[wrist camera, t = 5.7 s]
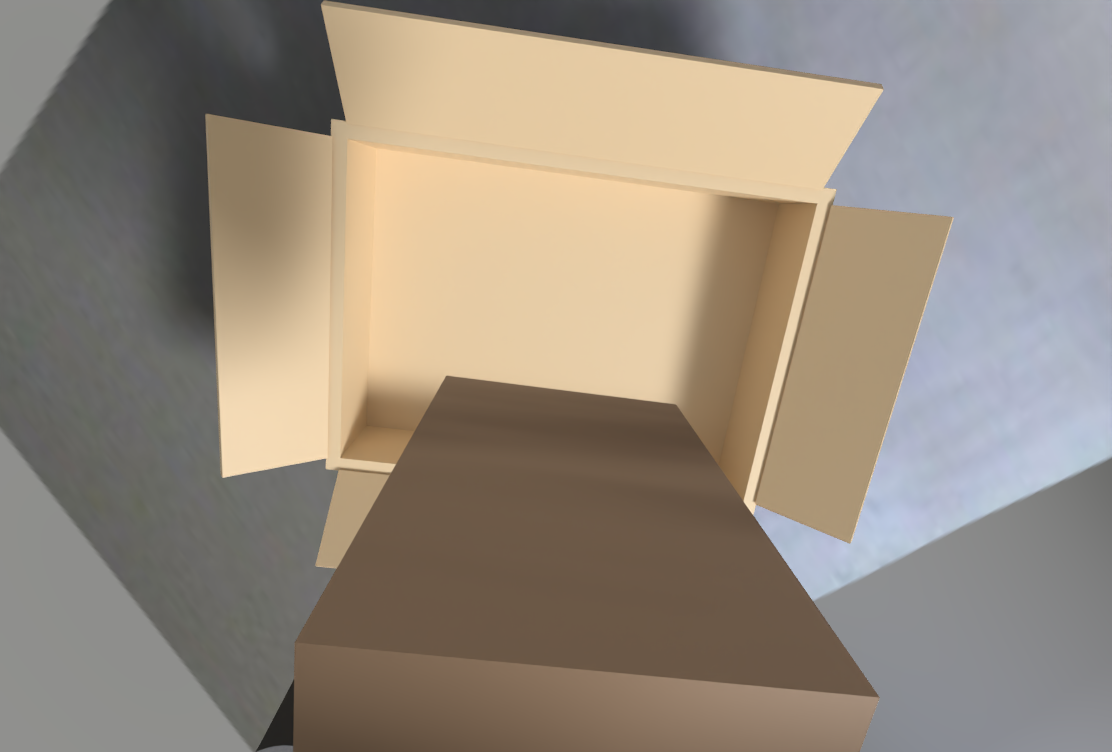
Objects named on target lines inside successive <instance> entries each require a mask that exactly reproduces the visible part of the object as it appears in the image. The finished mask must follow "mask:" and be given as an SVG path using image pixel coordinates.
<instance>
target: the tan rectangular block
mask: <svg viewBox="0 0 1112 752" xmlns="http://www.w3.org/2000/svg"><path fill="white" fill-rule="evenodd" d="M878 701H879V696H878V695H877V693H876V692H875V690H874V689H873V688H872V686H871V684H870V683H869V682H868V680H867V679H866V677H865V676H864V674H863V673H862V671H861V670H860V669H859V667H858V666H857V664H856V663H855V661H854V660H853V658H852V657H851V656H850V654H849V653H848V651H847V650H846V648H845V647H844V646H843V644H842V643H841V641H840V640H839V638H838V637H837V635H836V634H835V633H834V631H833V630H832V628H831V627H830V625H829V624H828V623H827V621H826V620H825V618H824V617H823V615H822V614H821V613H820V611H819V610H818V608H817V607H816V605H815V604H814V602H813V601H812V599H811V598H810V597H809V595H808V594H807V592H806V591H805V589H804V588H803V586H802V585H801V584H800V582H799V581H798V579H797V578H796V576H795V575H794V574H793V572H792V571H791V569H790V568H789V566H788V565H787V563H786V562H785V561H784V559H783V558H782V556H781V555H780V553H779V552H778V550H777V549H776V548H775V546H774V545H773V543H772V542H771V540H770V539H769V538H768V536H767V535H766V533H765V532H764V530H763V529H762V527H761V526H760V525H759V523H758V522H757V520H756V519H755V517H754V516H753V514H752V513H751V512H750V510H749V509H748V507H747V506H746V504H745V503H744V502H743V500H742V499H741V497H740V496H739V494H738V493H737V491H736V490H735V489H734V487H733V486H732V484H731V483H730V481H729V480H728V478H727V477H726V476H725V474H724V473H723V471H722V470H721V468H720V467H719V465H718V464H717V463H716V461H715V460H714V458H713V457H712V455H711V454H710V453H709V451H708V450H707V448H706V447H705V445H704V444H703V442H702V441H701V440H700V438H699V437H698V435H697V434H696V432H695V431H694V429H693V428H692V427H691V425H690V424H689V422H688V421H687V419H686V418H685V417H684V415H683V414H682V412H681V411H680V409H679V408H678V406H677V405H676V404H669V403H661V402H653V401H645V400H637V399H629V398H622V397H614V396H606V395H598V394H590V393H582V392H574V391H566V390H558V389H550V388H542V387H534V386H526V385H518V384H510V383H502V382H494V381H486V380H478V379H470V378H462V377H454V376H446V377H445V379H444V380H443V382H442V384H441V386H440V387H439V389H438V391H437V393H436V394H435V396H434V398H433V400H432V402H431V403H430V405H429V407H428V409H427V410H426V412H425V414H424V416H423V417H422V419H421V421H420V423H419V424H418V426H417V428H416V430H415V432H414V433H413V435H412V437H411V439H410V440H409V442H408V444H407V446H406V447H405V449H404V451H403V453H402V454H401V456H400V458H399V460H398V461H397V463H396V465H395V467H394V469H393V470H392V472H391V474H390V476H389V477H388V479H387V481H386V483H385V484H384V486H383V488H382V490H381V491H380V493H379V495H378V497H377V498H376V500H375V502H374V504H373V506H372V507H371V509H370V511H369V513H368V514H367V516H366V518H365V520H364V521H363V523H362V525H361V527H360V528H359V530H358V532H357V534H356V536H355V537H354V539H353V541H352V543H351V544H350V546H349V548H348V550H347V551H346V553H345V555H344V557H343V558H342V560H341V562H340V564H339V565H338V567H337V569H336V571H335V573H334V574H333V576H332V578H331V580H330V581H329V583H328V585H327V587H326V588H325V590H324V592H323V594H322V595H321V597H320V599H319V601H318V602H317V604H316V606H315V608H314V610H313V611H312V613H311V615H310V617H309V618H308V620H307V622H306V624H305V625H304V627H303V629H302V631H301V632H300V634H299V636H298V638H297V640H296V641H295V662H294V728H293V752H860V749H861V747H862V744H863V741H864V738H865V736H866V733H867V730H868V728H869V725H870V722H871V720H872V717H873V714H874V712H875V709H876V706H877V703H878Z"/></svg>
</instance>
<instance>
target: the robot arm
mask: <svg viewBox="0 0 1112 752" xmlns="http://www.w3.org/2000/svg"><path fill="white" fill-rule="evenodd" d="M293 728H294V681H293V682H292V684H291V686H290V688H289V690H288V692H287V694H286V696H285V698H284V700H283V702H282V703H281V705H280V707H279V709H278V711H277V713H276V715H275V717H274V719H273V721H272V723H271V724H270V726H269V728H268V730H267V732H266V734H265V736H264V738H263V740H262V742H261V744H260V745H259V747H258V749H257V750H256V752H293Z"/></svg>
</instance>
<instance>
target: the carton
mask: <svg viewBox="0 0 1112 752" xmlns="http://www.w3.org/2000/svg"><path fill="white" fill-rule="evenodd" d="M321 7H322V12H323V17H324V21H325V26H326V31H327V35H328V40H329V44H330V49H331V54H332V58H333V63H334V68H335V72H336V77H337V82H338V86H339V91H340V96H341V100H342V105H343V109H344V114H345V119H346V121H343V120H336V119H331V136H328V135H322V134H317V133H311V132H305V131H300V130H294V129H289V128H283V127H278V126H272V125H267V124H261V123H256V122H250V121H244V120H239V119H233V118H228V117H222V116H217V115H211V114H205V118H206V142H207V165H208V188H209V212H210V235H211V258H212V281H213V305H214V328H215V351H216V375H217V398H218V421H219V445H220V468H221V476H222V477H229V476H234V475H239V474H245V473H250V472H255V471H261V470H266V469H271V468H277V467H282V466H287V465H293V464H298V463H303V462H309V461H314V460H320V459H325V458H326V469H330V470H339V472H338V476H337V480H336V484H335V488H334V492H333V496H332V500H331V504H330V508H329V513H328V517H327V521H326V525H325V529H324V533H323V537H322V541H321V545H320V549H319V554H318V558H317V562H316V566H318V567H328V568H337V567H338V565H339V564H340V562H341V560H342V558H343V557H344V555H345V553H346V551H347V550H348V548H349V546H350V544H351V543H352V541H353V539H354V537H355V536H356V534H357V532H358V530H359V528H360V527H361V525H362V523H363V521H364V520H365V518H366V516H367V514H368V513H369V511H370V509H371V507H372V506H373V504H374V502H375V500H376V498H377V497H378V495H379V493H380V491H381V490H382V488H383V486H384V484H385V483H386V481H387V479H388V477H389V476H390V474H391V472H392V470H393V469H394V467H395V465H396V463H397V461H398V460H399V458H400V456H401V454H402V453H403V451H404V449H405V447H406V446H407V444H408V442H409V440H410V439H411V437H412V435H413V433H414V432H415V430H416V428H417V426H418V424H419V423H420V421H421V419H422V417H423V416H424V414H425V412H426V410H427V409H428V407H429V405H430V403H431V402H432V400H433V398H434V396H435V394H436V393H437V391H438V389H439V387H440V386H441V384H442V382H443V380H444V379H445V377H446V376H454V377H462V378H470V379H478V380H486V381H494V382H502V383H510V384H518V385H526V386H534V387H542V388H550V389H558V390H566V391H574V392H582V393H590V394H598V395H606V396H614V397H622V398H629V399H637V400H645V401H653V402H661V403H669V404H676V405H677V406H678V408H679V409H680V411H681V412H682V414H683V415H684V417H685V418H686V419H687V421H688V422H689V424H690V425H691V427H692V428H693V429H694V431H695V432H696V434H697V435H698V437H699V438H700V440H701V441H702V442H703V444H704V445H705V447H706V448H707V450H708V451H709V453H710V454H711V455H712V457H713V458H714V460H715V461H716V463H717V464H718V465H719V467H720V468H721V470H722V471H723V473H724V474H725V476H726V477H727V478H728V480H729V481H730V483H731V484H732V486H733V487H734V489H735V490H736V491H737V493H738V494H739V496H740V497H741V499H742V500H743V502H744V503H745V504H746V506H747V507H748V509H749V510H750V512H751V513H752V514H754V510H755V506H756V505H758V506H761V507H763V508H765V509H768V510H770V511H773V512H775V513H777V514H780V515H782V516H785V517H787V518H789V519H792V520H794V521H797V522H799V523H801V524H804V525H806V526H809V527H811V528H813V529H816V530H818V531H821V532H823V533H826V534H828V535H830V536H833V537H835V538H838V539H840V540H842V541H845V542H847V543H851V541H852V538H853V535H854V532H855V529H856V526H857V522H858V519H859V516H860V513H861V510H862V507H863V503H864V500H865V497H866V494H867V491H868V488H869V484H870V481H871V478H872V475H873V472H874V469H875V465H876V462H877V459H878V456H879V453H880V450H881V446H882V443H883V440H884V437H885V434H886V431H887V427H888V424H889V421H890V418H891V415H892V412H893V408H894V405H895V402H896V399H897V396H898V393H899V389H900V386H901V383H902V380H903V377H904V374H905V370H906V367H907V364H908V361H909V358H910V355H911V351H912V348H913V345H914V342H915V339H916V336H917V332H918V329H919V326H920V323H921V320H922V317H923V313H924V310H925V307H926V304H927V301H928V298H929V294H930V291H931V288H932V285H933V282H934V279H935V275H936V272H937V269H938V266H939V263H940V260H941V256H942V253H943V250H944V247H945V244H946V241H947V237H948V234H949V231H950V228H951V225H952V222H953V218H954V217H947V216H937V215H927V214H916V213H906V212H896V211H886V210H875V209H865V208H855V207H845V206H834V205H833V201H834V198H835V194H836V190H837V189H830V188H824V186H825V185H826V183H827V181H828V180H829V178H830V176H831V175H832V173H833V172H834V170H835V168H836V167H837V165H838V163H839V162H840V160H841V158H842V157H843V155H844V154H845V152H846V150H847V149H848V147H849V145H850V144H851V142H852V140H853V139H854V137H855V136H856V134H857V132H858V131H859V129H860V127H861V126H862V124H863V122H864V121H865V119H866V117H867V116H868V114H869V113H870V111H871V109H872V108H873V106H874V104H875V103H876V101H877V99H878V98H879V96H880V95H881V93H882V91H883V90H884V89H883V87H882V84H877V83H870V82H863V81H857V80H850V79H843V78H837V77H830V76H823V75H817V74H810V73H803V72H797V71H790V70H784V69H777V68H770V67H764V66H757V65H750V64H744V63H737V62H730V61H724V60H717V59H710V58H704V57H697V56H690V55H684V54H677V53H671V52H664V51H657V50H651V49H644V48H637V47H631V46H624V45H617V44H611V43H604V42H597V41H591V40H584V39H578V38H571V37H564V36H558V35H551V34H544V33H538V32H531V31H524V30H518V29H511V28H504V27H498V26H491V25H484V24H478V23H471V22H465V21H458V20H451V19H445V18H438V17H431V16H425V15H418V14H411V13H405V12H398V11H391V10H385V9H378V8H371V7H365V6H358V5H352V4H345V3H338V2H332V1H325V0H324V1H323V2H322V4H321Z"/></svg>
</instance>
